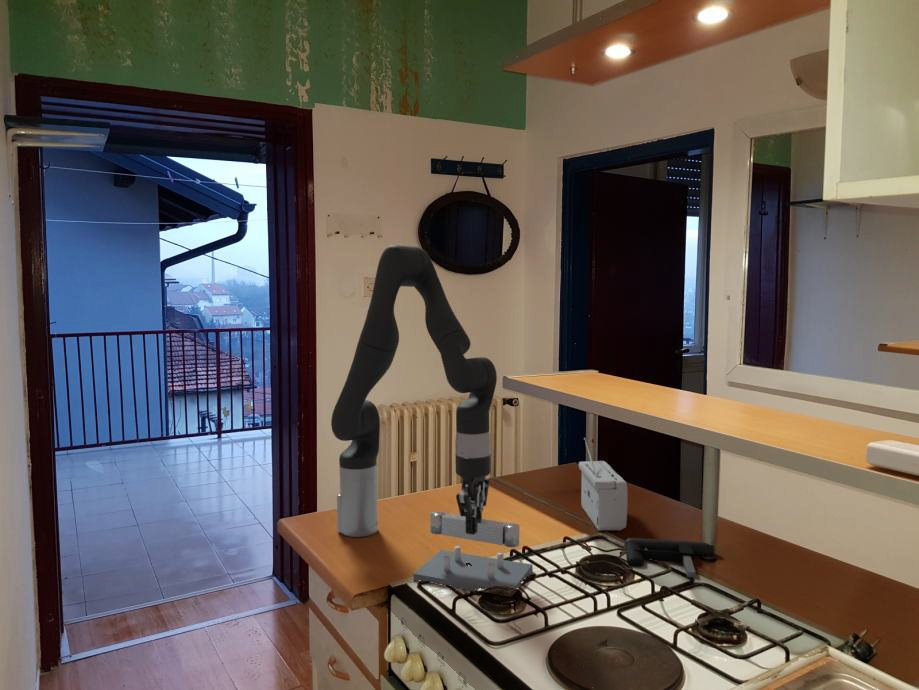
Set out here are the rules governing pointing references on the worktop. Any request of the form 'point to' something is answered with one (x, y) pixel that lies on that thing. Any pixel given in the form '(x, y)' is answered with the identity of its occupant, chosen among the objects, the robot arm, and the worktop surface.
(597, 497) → the stereo radio cassette player
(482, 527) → the grey end-post crossbar
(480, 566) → the board
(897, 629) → the worktop surface
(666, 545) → the toy gun
